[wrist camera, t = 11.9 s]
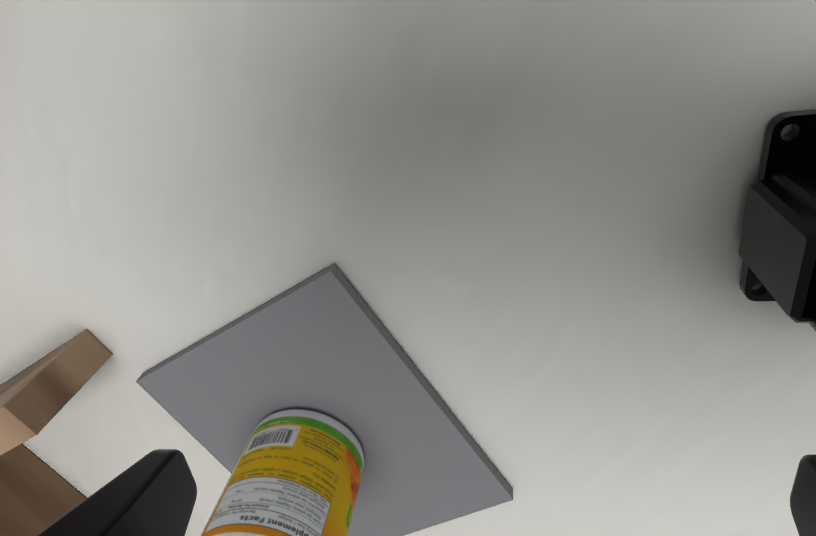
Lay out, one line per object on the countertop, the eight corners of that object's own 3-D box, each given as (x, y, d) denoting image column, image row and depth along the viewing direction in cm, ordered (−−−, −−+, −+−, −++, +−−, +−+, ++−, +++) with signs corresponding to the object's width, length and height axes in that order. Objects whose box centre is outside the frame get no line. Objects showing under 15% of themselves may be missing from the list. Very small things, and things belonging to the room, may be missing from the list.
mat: (334, 263, 22) (330, 271, 22) (512, 489, 27) (512, 499, 26) (143, 373, 26) (136, 381, 26) (326, 551, 31) (323, 561, 31)
